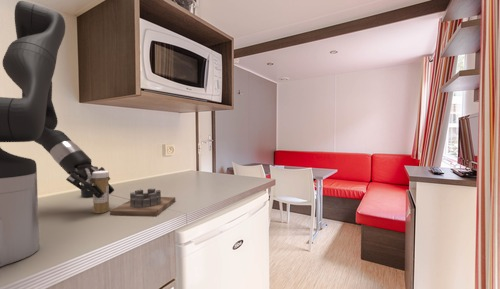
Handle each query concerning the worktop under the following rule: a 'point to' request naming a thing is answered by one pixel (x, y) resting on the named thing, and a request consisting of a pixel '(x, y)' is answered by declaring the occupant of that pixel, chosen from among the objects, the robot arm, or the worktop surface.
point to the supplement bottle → (86, 192)
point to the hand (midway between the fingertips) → (106, 194)
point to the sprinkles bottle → (102, 182)
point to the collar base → (143, 210)
